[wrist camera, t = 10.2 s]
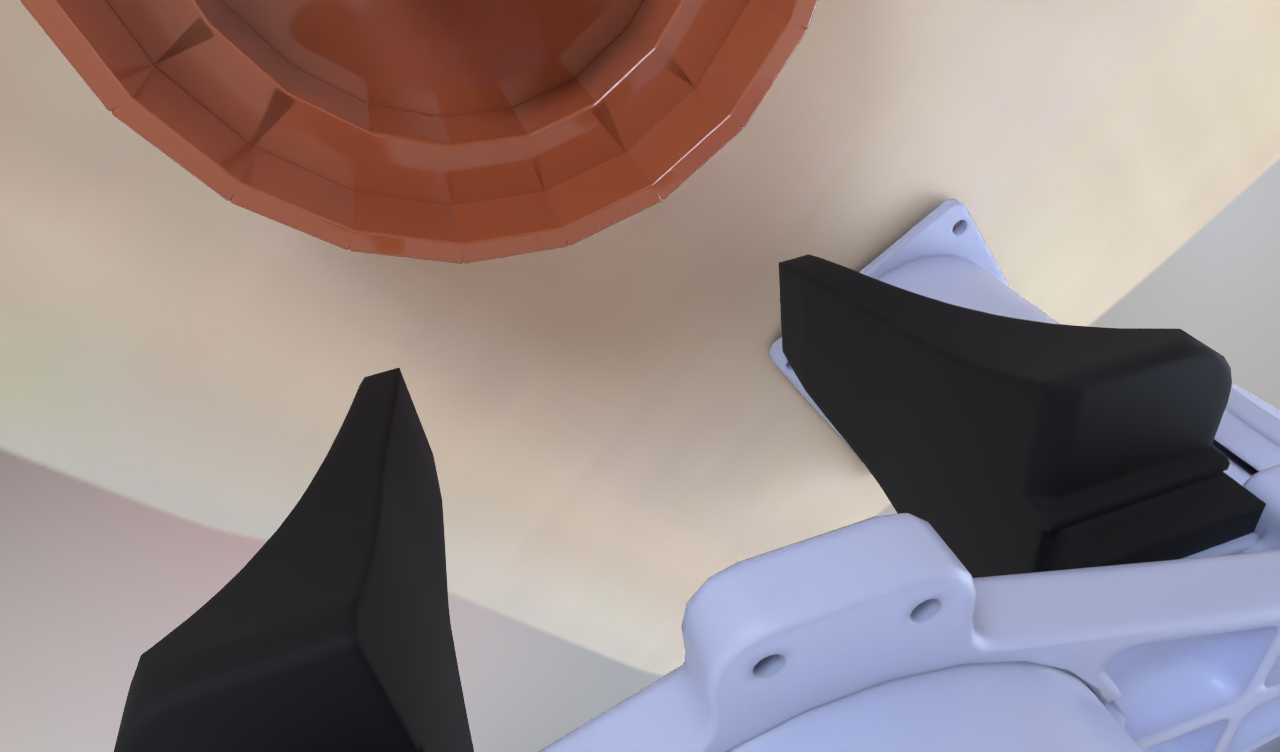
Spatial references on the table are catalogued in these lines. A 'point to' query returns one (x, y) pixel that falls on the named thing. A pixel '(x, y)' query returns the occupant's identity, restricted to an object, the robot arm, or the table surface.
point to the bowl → (433, 106)
